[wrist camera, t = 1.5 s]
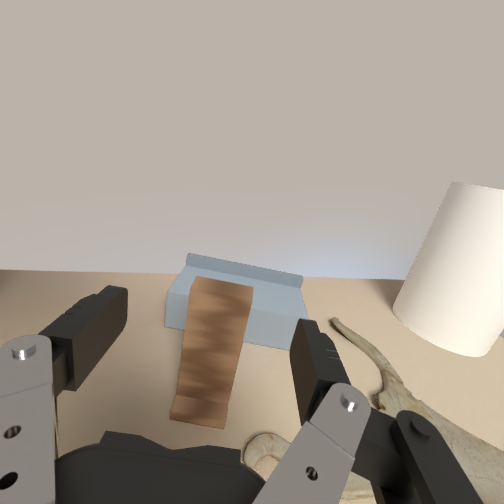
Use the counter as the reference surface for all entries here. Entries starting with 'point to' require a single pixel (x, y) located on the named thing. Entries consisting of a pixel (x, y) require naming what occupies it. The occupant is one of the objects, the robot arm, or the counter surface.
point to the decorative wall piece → (391, 402)
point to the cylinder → (459, 274)
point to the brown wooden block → (210, 350)
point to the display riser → (263, 305)
